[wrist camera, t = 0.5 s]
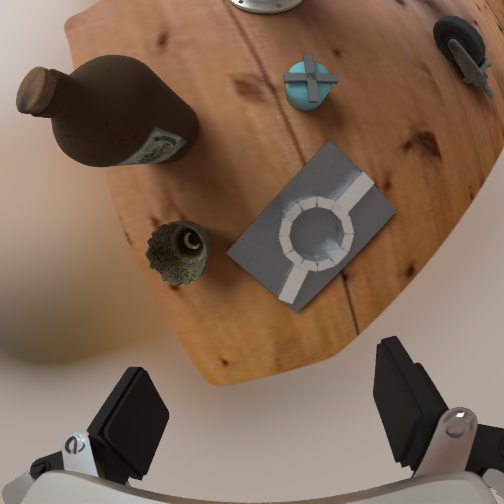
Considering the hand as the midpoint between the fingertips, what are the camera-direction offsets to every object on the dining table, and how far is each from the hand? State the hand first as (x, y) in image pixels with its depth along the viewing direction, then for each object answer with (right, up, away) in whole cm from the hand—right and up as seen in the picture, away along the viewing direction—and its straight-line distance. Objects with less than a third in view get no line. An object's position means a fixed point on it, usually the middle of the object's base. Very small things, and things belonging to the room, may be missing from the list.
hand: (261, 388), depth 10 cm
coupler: (+7, +26, +22) cm, 34 cm away
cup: (-8, +7, +28) cm, 30 cm away
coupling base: (+8, +8, +26) cm, 29 cm away
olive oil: (-12, +22, +24) cm, 35 cm away
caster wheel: (+34, +37, +17) cm, 53 cm away
